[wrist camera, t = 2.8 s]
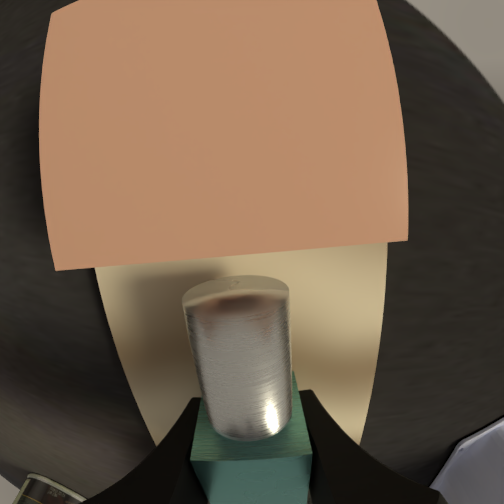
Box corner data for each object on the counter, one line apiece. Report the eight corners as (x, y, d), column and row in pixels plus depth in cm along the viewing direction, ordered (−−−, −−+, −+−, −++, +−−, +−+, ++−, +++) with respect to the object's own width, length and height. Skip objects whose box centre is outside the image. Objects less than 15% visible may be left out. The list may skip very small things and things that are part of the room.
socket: (336, 210, 9) (407, 239, 5) (134, 229, 9) (55, 270, 5) (319, 45, 8) (365, -30, 3) (123, 68, 8) (52, 13, 3)
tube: (292, 500, 13) (299, 550, 9) (239, 503, 13) (238, 554, 9) (290, 264, 9) (318, 325, 5) (185, 273, 9) (147, 337, 5)
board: (343, 478, 14) (346, 487, 13) (186, 489, 14) (185, 498, 13) (361, 58, 8) (369, 50, 7) (88, 87, 8) (78, 82, 8)
